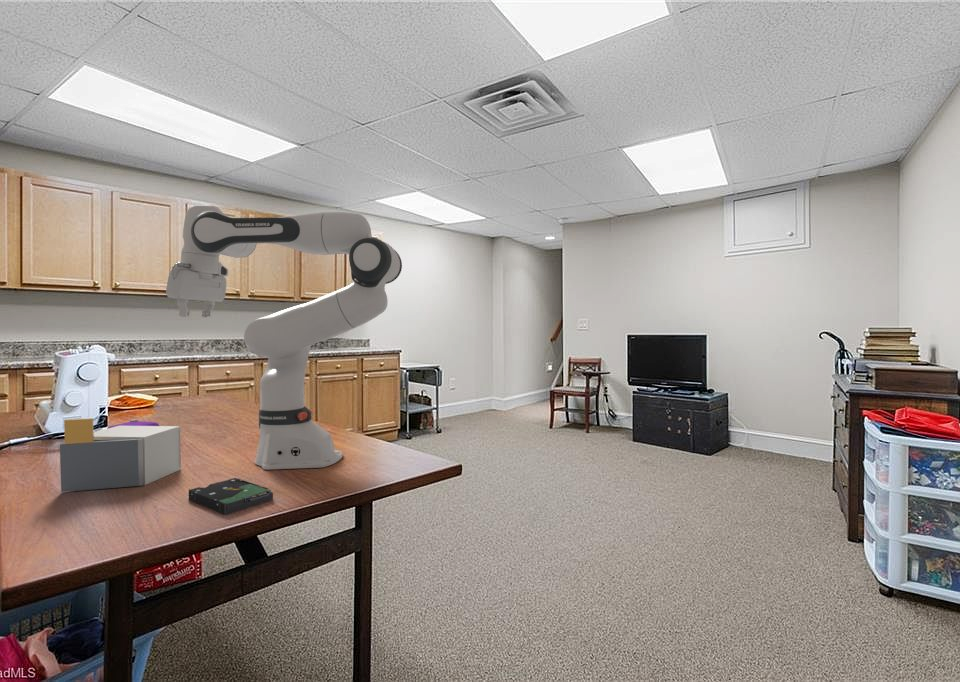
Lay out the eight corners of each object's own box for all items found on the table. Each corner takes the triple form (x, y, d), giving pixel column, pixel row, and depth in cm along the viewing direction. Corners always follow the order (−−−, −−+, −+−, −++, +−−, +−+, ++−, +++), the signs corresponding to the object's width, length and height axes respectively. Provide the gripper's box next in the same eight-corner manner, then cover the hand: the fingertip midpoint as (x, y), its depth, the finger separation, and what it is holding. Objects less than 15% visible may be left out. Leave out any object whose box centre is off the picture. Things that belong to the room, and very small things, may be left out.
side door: (144, 484, 111) (142, 415, 111) (142, 485, 110) (141, 416, 110) (63, 490, 107) (61, 419, 106) (60, 492, 106) (58, 420, 105)
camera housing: (183, 468, 124) (182, 425, 124) (145, 484, 111) (144, 437, 111) (123, 467, 125) (122, 424, 125) (79, 483, 112) (77, 436, 112)
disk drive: (187, 503, 101) (225, 518, 93) (186, 490, 101) (225, 503, 93) (235, 489, 110) (274, 501, 102) (235, 477, 110) (274, 488, 102)
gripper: (185, 262, 120) (181, 317, 121) (231, 271, 141) (227, 318, 141) (161, 259, 121) (157, 315, 121) (210, 269, 141) (207, 316, 142)
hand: (195, 317), depth 132 cm, fingers open, 8 cm apart
